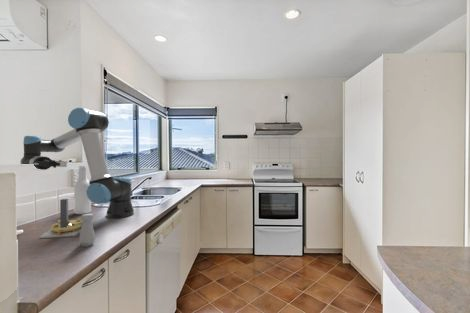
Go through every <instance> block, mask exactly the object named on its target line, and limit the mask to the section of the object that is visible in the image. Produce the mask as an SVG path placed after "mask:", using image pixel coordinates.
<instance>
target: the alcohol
mask: <svg viewBox="0 0 470 313" xmlns="http://www.w3.org/2000/svg"><path fill="white" fill-rule="evenodd" d="M78 169H79V170H78V179H77V180H76V181H75V183H74V192H73V193H74V195H73V197H74V198H73V200H74V201H73V202H74V204H73V206H74V208H73V213H74V214H75V215H83V214H88V213H91V211H92V202H91V201H90V200H89V199H88V197H87V193H86V191H87V188H88V186H89V185H90V184H89V181H90V180H89V179H88V172H87V170H88V169H87V165H82V164H81V165H79V167H78Z"/></svg>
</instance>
